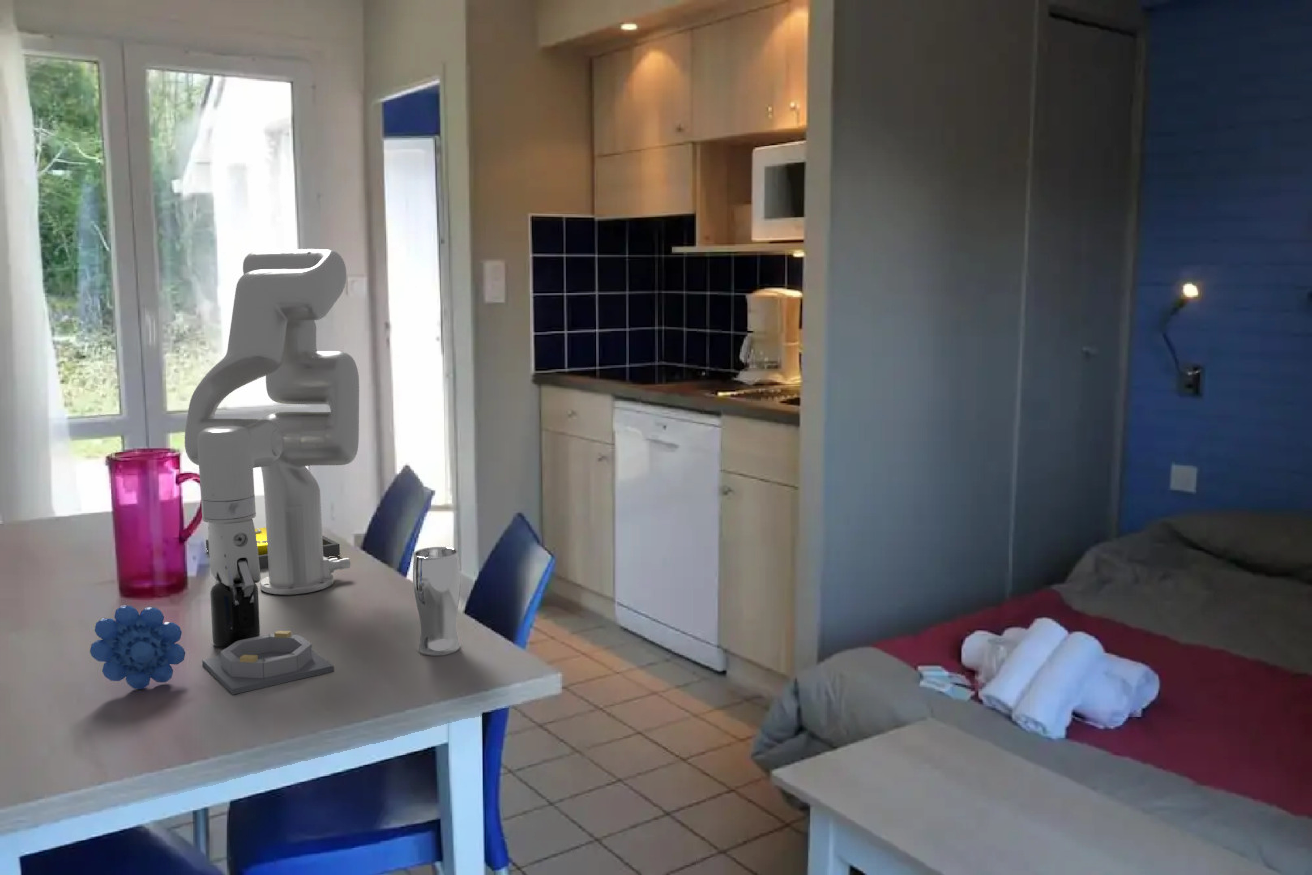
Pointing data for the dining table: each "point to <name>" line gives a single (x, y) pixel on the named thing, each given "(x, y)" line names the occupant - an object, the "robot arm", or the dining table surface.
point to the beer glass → (437, 598)
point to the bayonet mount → (266, 662)
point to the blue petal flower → (137, 646)
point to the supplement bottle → (229, 616)
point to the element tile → (261, 541)
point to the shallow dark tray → (328, 550)
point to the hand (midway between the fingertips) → (235, 621)
